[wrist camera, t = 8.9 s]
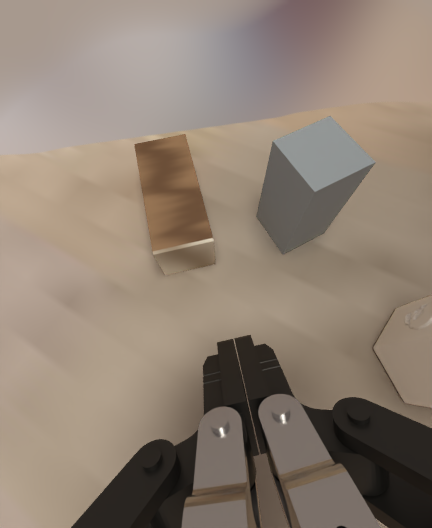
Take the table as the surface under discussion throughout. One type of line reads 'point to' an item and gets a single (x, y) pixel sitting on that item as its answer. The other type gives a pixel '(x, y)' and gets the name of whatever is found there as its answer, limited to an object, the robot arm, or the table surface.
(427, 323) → the jar
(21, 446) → the table surface
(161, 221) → the walnut block
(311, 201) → the grey block
